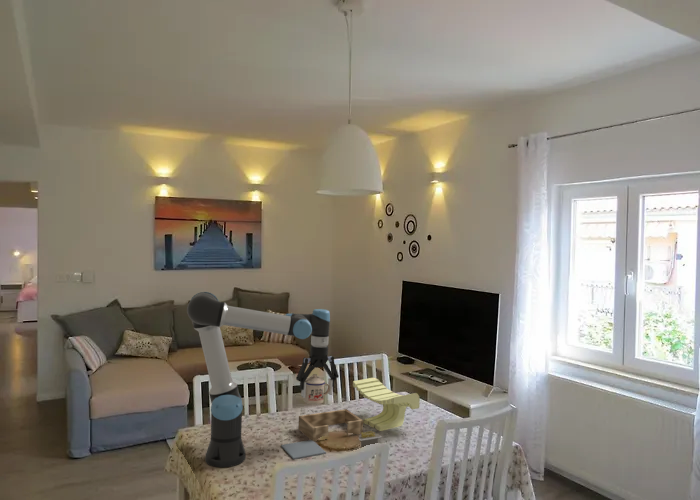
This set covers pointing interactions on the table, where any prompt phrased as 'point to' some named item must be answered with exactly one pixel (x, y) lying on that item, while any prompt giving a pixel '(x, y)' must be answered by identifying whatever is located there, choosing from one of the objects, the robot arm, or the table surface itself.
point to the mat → (303, 449)
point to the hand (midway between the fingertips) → (316, 395)
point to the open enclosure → (328, 423)
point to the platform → (368, 438)
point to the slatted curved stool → (386, 403)
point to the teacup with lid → (315, 390)
